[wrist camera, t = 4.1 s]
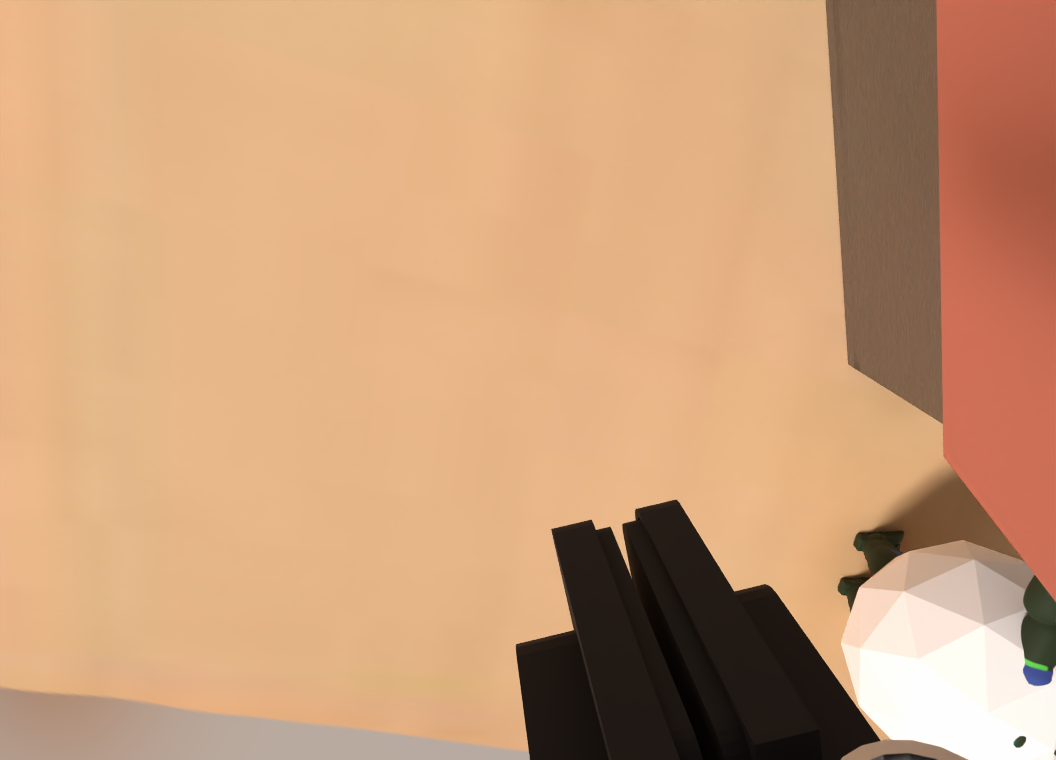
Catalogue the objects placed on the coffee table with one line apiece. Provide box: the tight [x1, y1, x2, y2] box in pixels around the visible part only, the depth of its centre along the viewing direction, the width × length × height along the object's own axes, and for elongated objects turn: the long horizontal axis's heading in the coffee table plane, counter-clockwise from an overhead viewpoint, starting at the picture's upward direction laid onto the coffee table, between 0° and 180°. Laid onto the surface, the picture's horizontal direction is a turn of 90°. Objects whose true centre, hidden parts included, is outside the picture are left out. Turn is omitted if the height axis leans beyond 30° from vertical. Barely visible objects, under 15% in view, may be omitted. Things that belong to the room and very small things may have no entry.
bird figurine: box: [838, 531, 1056, 760], centre depth 35 cm, size 18×10×13 cm, turn 170°
